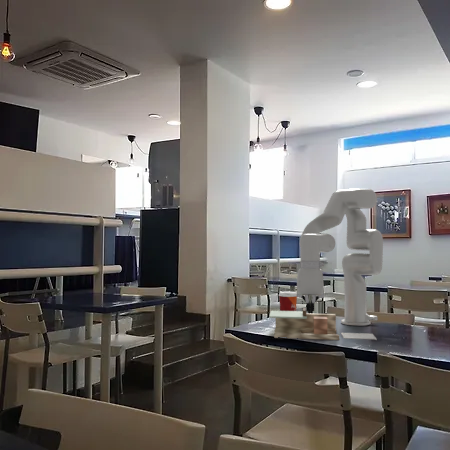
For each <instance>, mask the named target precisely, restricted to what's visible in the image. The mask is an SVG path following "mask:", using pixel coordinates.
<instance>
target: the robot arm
mask: <svg viewBox="0 0 450 450" xmlns="http://www.w3.org/2000/svg"><path fill="white" fill-rule="evenodd" d="M377 202H378V198H377V193H376V192H375V191H374V190H373V189H371V188H370V189H369V188H349V189H348V188H347V189H343V188H342V189H337V190H336V191H334V192H333V193H332V194H331V196H330V198H329V200H328V202H327V203H326V207H325V208H324V210H323V213H321V214H319V215H318V216H316V217H315V218H314V219H313V220H310V222H309V223H308V224H307V225H306V226H305V227H304V229H303V231H302V233H301V235H300V238H299V247H300V268H299V269H298V270H297V276H296V277H297V278H296V293H297V295H296V296H297V299H302V300H303V301H304V302H305V303H306V306H305V308H306V312H307V313H309V314H310V313H311V314H313V312H315V304H316V302H317V301H318V300H320V299H324V298H325V293H324V291H325V285H324V274H323V269H322V268H321V267H324V266H325V264H324V262H321V253H329V252H332V251H333V250H334V249H335V247H336V239H335V237H334V236H333V235H331V234H329V233H323V232H325V231H328V230H330V229H333V228H335V227H337V226H339V225H340V224H341V223H342V221H343V219H344V218H345V216H346V246H347V248H348V249H349V250H352V251H369V253H362V252H361V253H359V252H354V253H353V252H352V253H347V254H345V255H344V256H343V258H342V261H341V264H342V265H341V266H342V271H343V272H342V273H343V278H344V279H343V280H344V318H343V319H341V320H340V323H341V324H343V325H346V326H347V325H348V326H356V327H357V326H361V327H362V326H363V327H364V326H369V325H371V321H378V316H377V315H369V314H368V313H367V283H366V281H365V278H363V276H378V275H380V274H381V273H382V269H383V262H384V261H383V258H384V257H383V255H384V239H383V234H382V233H381V231H380V230H378V229H375V228H374V229H373V228H370V229H369V228H368V229H367V218H366V215H365V213H364V212H363V211H362V210H366V209H367V210H368V209H373V208H374V207H376V205H377ZM309 296H311V301H310V300H309Z"/></svg>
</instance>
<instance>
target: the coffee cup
mask: <svg viewBox="0 0 450 450" xmlns="http://www.w3.org/2000/svg"><path fill="white" fill-rule="evenodd" d="M296 295H297V291H279V294H278V297H279V300H278V301H279V311H297V304H298V301H297V299H298V297H297V296H296Z"/></svg>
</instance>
